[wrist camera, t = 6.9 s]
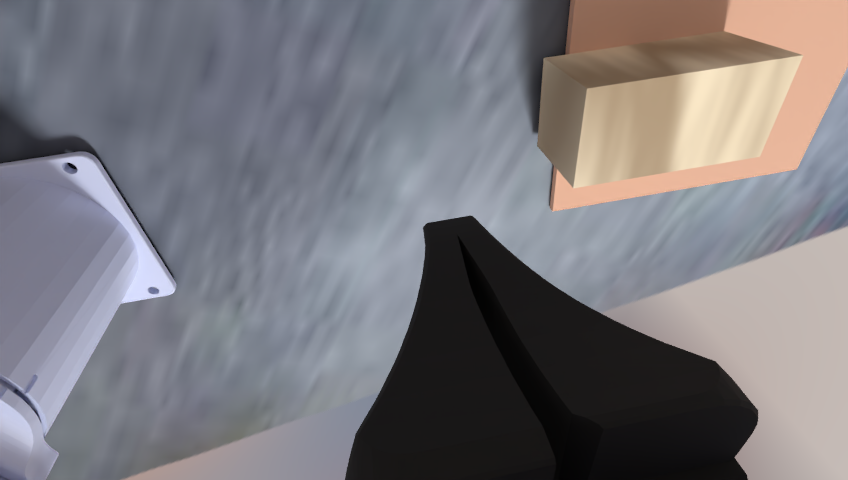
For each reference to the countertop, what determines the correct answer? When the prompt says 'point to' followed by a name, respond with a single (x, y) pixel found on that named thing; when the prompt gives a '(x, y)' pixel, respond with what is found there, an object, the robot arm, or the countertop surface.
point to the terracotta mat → (707, 13)
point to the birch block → (661, 106)
